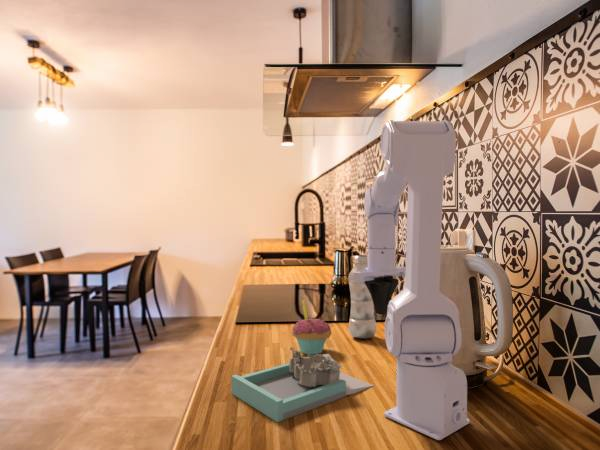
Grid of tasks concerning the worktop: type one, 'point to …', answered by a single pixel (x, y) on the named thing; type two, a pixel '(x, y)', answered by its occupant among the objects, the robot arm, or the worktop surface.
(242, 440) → the worktop surface
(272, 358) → the worktop surface
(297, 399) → the dock
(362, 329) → the plastic bottle
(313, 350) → the cupcake
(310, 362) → the egg carton
